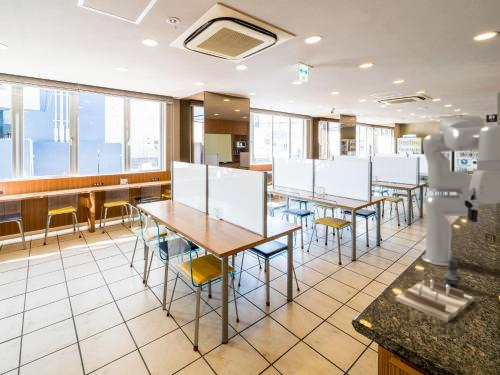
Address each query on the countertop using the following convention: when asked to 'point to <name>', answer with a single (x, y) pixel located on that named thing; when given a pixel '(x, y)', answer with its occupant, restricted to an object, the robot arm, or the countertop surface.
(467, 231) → the countertop surface
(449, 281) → the weathered chess pawn
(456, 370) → the countertop surface
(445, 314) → the pin stand
